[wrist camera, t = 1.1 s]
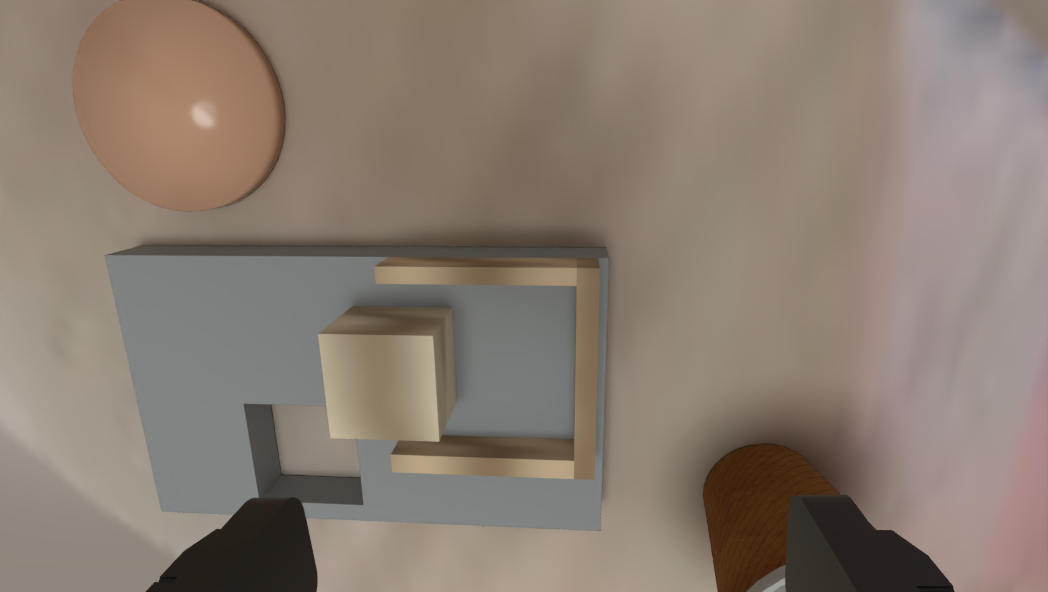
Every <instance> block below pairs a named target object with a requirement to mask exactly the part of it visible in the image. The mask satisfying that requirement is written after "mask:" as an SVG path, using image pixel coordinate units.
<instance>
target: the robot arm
mask: <svg viewBox="0 0 1048 592" xmlns="http://www.w3.org/2000/svg"><path fill="white" fill-rule="evenodd" d="M785 587H786V592H954V589H953V585H952V584H951V583H950V582H949V581H948V579H947V578H946V577H945V576H944V574H943V573H942V572H941V571H940V570H939V568H938V567H937V566H936V565H935V564H934V562H933V561H932V560H931V559H930V557H929V556H928V555H926V554H925V553H924V552H922V551H921V550H919V549H918V548H916V547H915V546H914V545H912V544H911V543H909V542H908V541H907V540H905V539H904V538H902V537H901V536H899V535H898V534H897V533H895V532H894V531H892V530H874V529H873V527H872V526H871V525H870V523H869V522H868V521H867V519H866V518H865V517H864V515H863V514H862V512H861V511H860V510H859V508H858V507H857V506H856V504H855V503H854V502H853V501H852V499H851V498H850V497H848V496H847V495H794V496H793V497H792V498H791V500H790V505H789V517H788V534H787V551H786V568H785ZM316 591H317V569H316V564H315V559H314V555H313V550H312V545H311V540H310V535H309V531H308V526H307V521H306V516H305V511H304V507H303V505H302V503H301V501H300V500H299V499H298V498H295V497H283V498H251V499H249V500H247V501H246V502H245V503H244V504H243V505H242V506H241V507H240V509H239V510H238V511H237V512H236V513H235V514H234V515H233V516H232V517H231V518H230V520H229V521H228V522H227V523H226V524H225V525H224V526H223V527H222V528H221V529H216V530H214V531H213V532H211V533H210V534H209V535H207V536H206V537H204V538H203V539H201V540H200V541H198V542H197V543H195V544H194V545H192V546H191V547H189V548H188V549H186V550H185V551H184V552H183V553H182V554H181V555H180V556H179V557H178V558H177V559H176V560H175V561H174V562H173V563H172V564H171V566H170V567H169V568H168V569H167V570H166V571H165V572H164V573H163V574H162V575H161V576H160V580H159V582H154V583H153V585H152V586H151V587H150V588H149V589H148V590H147V591H146V592H316Z"/></svg>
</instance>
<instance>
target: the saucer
mask: <svg viewBox="0 0 1048 592" xmlns="http://www.w3.org/2000/svg"><path fill="white" fill-rule="evenodd" d="M73 96H74V103H75V109H76V113H77V116H78V120H79V123H80V126H81V128H82V131H83V133H84V136H85V138H86V140H87V142H88V144H89V146H90V148H91V149H92V151H93V152H94V154H95V155H96V157H97V158H98V160H99V161H100V163H101V164H102V165H103V166H104V168H105V169H106V170H107V171H108V172H109V173H110V174H111V175H112V176H113V177H114V178H115V179H116V180H117V181H118V182H119V183H120V184H121V185H123V186H124V187H125V188H126V189H128V190H129V191H130V192H132V193H133V194H135V195H137V196H138V197H140V198H142V199H144V200H146V201H148V202H150V203H152V204H154V205H157V206H160V207H163V208H167V209H172V210H177V211H189V212H192V211H204V210H208V209H213V208H217V207H222V206H227V205H230V204H232V203H235V202H238V201H240V200H242V199H243V198H245V197H247V196H249V195H250V194H251V193H252V192H254V191H255V190H256V189H258V188H259V186H260V185H261V184H262V183H263V182H264V181H265V180H266V179H267V177H268V176H269V174H270V173H271V171H272V170H273V168H274V166H275V164H276V162H277V160H278V157H279V154H280V151H281V148H282V143H283V138H284V129H285V113H284V104H283V98H282V93H281V90H280V86H279V83H278V80H277V77H276V75H275V73H274V70H273V68H272V66H271V64H270V62H269V61H268V59H267V57H266V55H265V54H264V52H263V51H262V49H261V48H260V47H259V45H258V44H257V42H256V41H255V40H254V39H253V38H252V37H251V36H250V35H249V34H248V32H247V31H246V30H245V29H243V28H242V27H241V26H240V25H239V24H238V23H236V22H235V21H234V20H233V19H231V18H230V17H228V16H227V15H225V14H224V13H222V12H220V11H218V10H216V9H214V8H212V7H210V6H208V5H205V4H202V3H199V2H196V1H193V0H121V1H118V2H116V3H114V4H113V5H111V6H110V7H108V8H107V9H106V10H104V11H103V12H102V13H101V14H100V15H99V16H98V17H97V18H96V19H95V20H94V21H93V23H92V24H91V25H90V27H89V28H88V29H87V31H86V33H85V35H84V37H83V39H82V40H81V43H80V46H79V48H78V51H77V54H76V59H75V64H74V71H73Z"/></svg>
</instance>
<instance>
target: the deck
mask: <svg viewBox="0 0 1048 592" xmlns="http://www.w3.org/2000/svg"><path fill="white" fill-rule="evenodd" d="M387 257H476V258H598V260H599V265H600V292H599V330H598V368H597V406H596V444H595V480H584V479H557V478H530V477H504V476H477V475H451V474H424V473H397V472H392V465H391V453H392V451H393V449H394V448H395V446H396V444H397V442H398V440H373V439H357V447H358V456H359V466H360V475H361V478H348V477H322V476H296V475H281V470H280V463H279V457H278V450H277V443H276V437H275V430H274V423H273V417H272V410H271V404H275V405H311V406H326V397H325V389H324V380H323V372H322V364H321V355H320V347H319V339H318V333H320V332H321V331H322V330H323V329H325V328H326V327H327V326H328V325H330V324H331V323H332V322H333V321H335V320H336V319H337V318H338V317H340V316H341V315H342V314H343V313H345V312H346V311H347V310H348V309H350V308H351V307H352V306H373V307H448V308H452V313H453V333H454V354H455V374H456V395H457V401H456V404H455V406H454V409H453V411H452V413H451V416H450V418H449V420H448V423H447V425H446V427H445V430H444V432H443V434H442V435H455V436H486V437H517V438H549V439H574V400H575V330H576V286H539V285H440V284H376V281H375V270H374V266H376V265H377V264H379V263H380V262H382V261H383V260H384V259H386V258H387ZM105 258H106V263H107V267H108V272H109V276H110V281H111V285H112V290H113V294H114V299H115V303H116V308H117V312H118V317H119V321H120V326H121V330H122V335H123V339H124V344H125V348H126V353H127V358H128V362H129V367H130V371H131V376H132V380H133V385H134V389H135V394H136V398H137V403H138V407H139V412H140V416H141V421H142V425H143V430H144V434H145V439H146V443H147V448H148V452H149V457H150V461H151V466H152V470H153V475H154V480H155V484H156V489H157V493H158V498H159V502H160V507H161V511H162V512H183V513H206V514H228V515H234V514H235V513H236V512H237V511H238V510H239V509H240V507H241V506H242V505H243V504H244V503H245V502H246V501H247V500H249V499H251V498H283V497H295V498H298V499H299V500H300V501H301V503H302V505H303V507H304V511H305V516H306V518H317V519H340V520H362V521H384V522H407V523H429V524H451V525H474V526H496V527H518V528H541V529H563V530H585V531H601V502H602V469H603V437H604V404H605V371H606V339H607V306H608V273H609V257H608V253H607V250H606V248H566V247H347V246H138V247H134V248H130V249H126V250H123V251H119V252H115V253H111V254H108V255H105Z"/></svg>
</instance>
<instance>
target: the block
mask: <svg viewBox="0 0 1048 592" xmlns="http://www.w3.org/2000/svg"><path fill="white" fill-rule="evenodd" d="M318 339H319V347H320V355H321V364H322V372H323V380H324V389H325V397H326V406H327V414H328V422H329V431H330V438H342V439H373V440H403V441H433V442H439V441H440V439H441V437H442V434H443V432H444V430H445V427H446V425H447V423H448V420H449V418H450V416H451V413H452V411H453V409H454V406H455V404H456V401H457V395H456V374H455V354H454V333H453V313H452V308H448V307H373V306H352V307H351V308H350V309H348V310H347V311H346V312H345V313H343V314H342V315H341V316H340V317H338V318H337V319H336V320H335V321H333V322H332V323H331V324H330V325H328V326H327V327H326V328H325V329H323V330H322V331H321V332H320V333H318Z"/></svg>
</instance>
